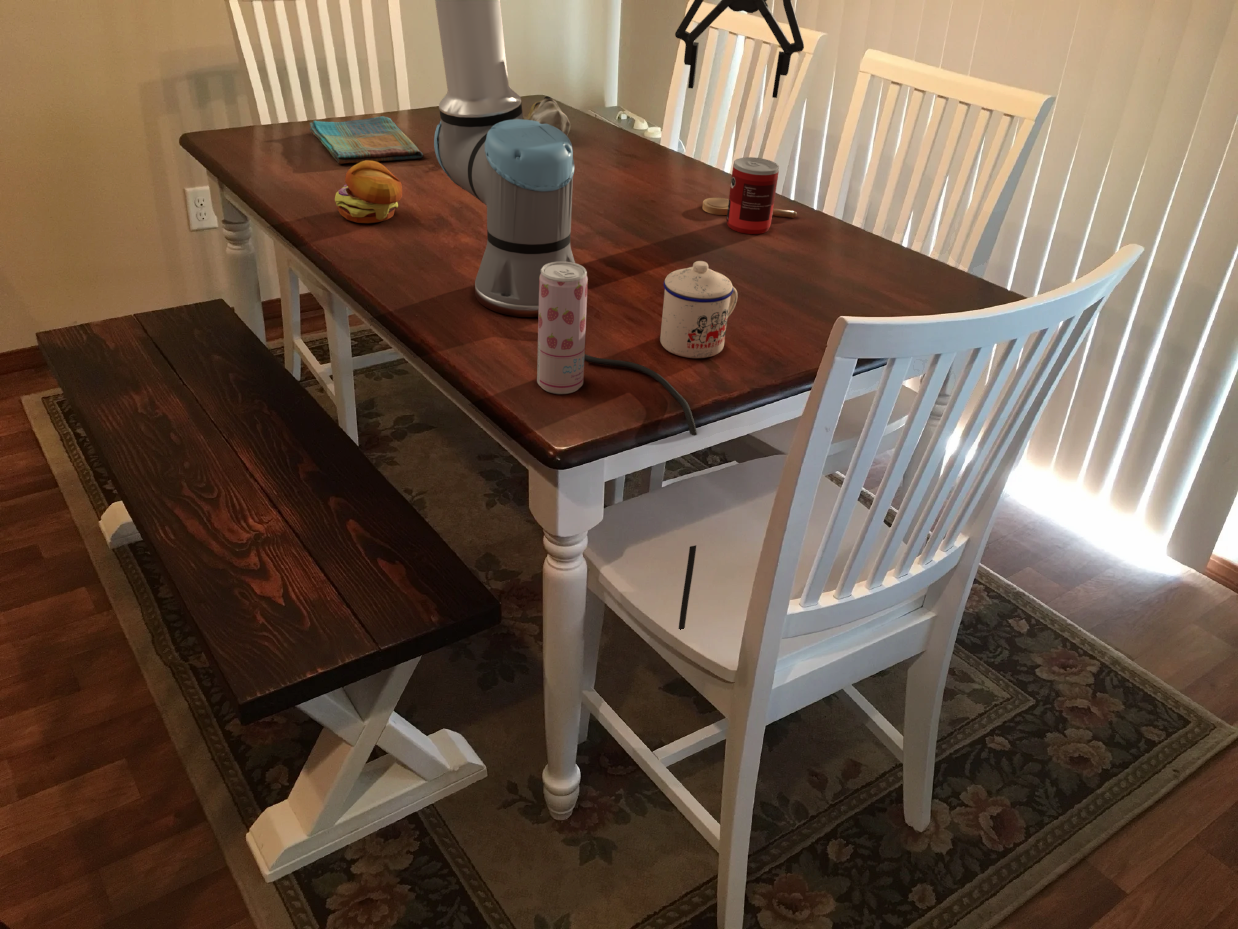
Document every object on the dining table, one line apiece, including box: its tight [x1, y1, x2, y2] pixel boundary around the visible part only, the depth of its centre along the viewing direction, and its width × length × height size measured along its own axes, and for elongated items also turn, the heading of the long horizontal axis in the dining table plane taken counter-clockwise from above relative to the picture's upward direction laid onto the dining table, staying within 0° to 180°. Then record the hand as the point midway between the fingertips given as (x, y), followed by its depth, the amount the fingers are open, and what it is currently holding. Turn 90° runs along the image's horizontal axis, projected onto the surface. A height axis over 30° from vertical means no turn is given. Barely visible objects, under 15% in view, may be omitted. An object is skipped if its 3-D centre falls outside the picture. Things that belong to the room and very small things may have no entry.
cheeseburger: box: [334, 160, 403, 224], centre depth 164 cm, size 10×11×10 cm
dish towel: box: [309, 115, 424, 165], centre depth 198 cm, size 17×23×2 cm
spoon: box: [701, 197, 798, 219], centre depth 179 cm, size 17×6×1 cm, turn 82°
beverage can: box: [536, 261, 589, 395], centre depth 118 cm, size 6×6×15 cm
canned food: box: [726, 156, 780, 235], centre depth 170 cm, size 8×8×11 cm
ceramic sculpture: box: [523, 95, 571, 137], centre depth 210 cm, size 11×9×15 cm
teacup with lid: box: [659, 260, 739, 359], centre depth 131 cm, size 12×9×12 cm
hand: (732, 91), depth 161 cm, fingers open, 13 cm apart
